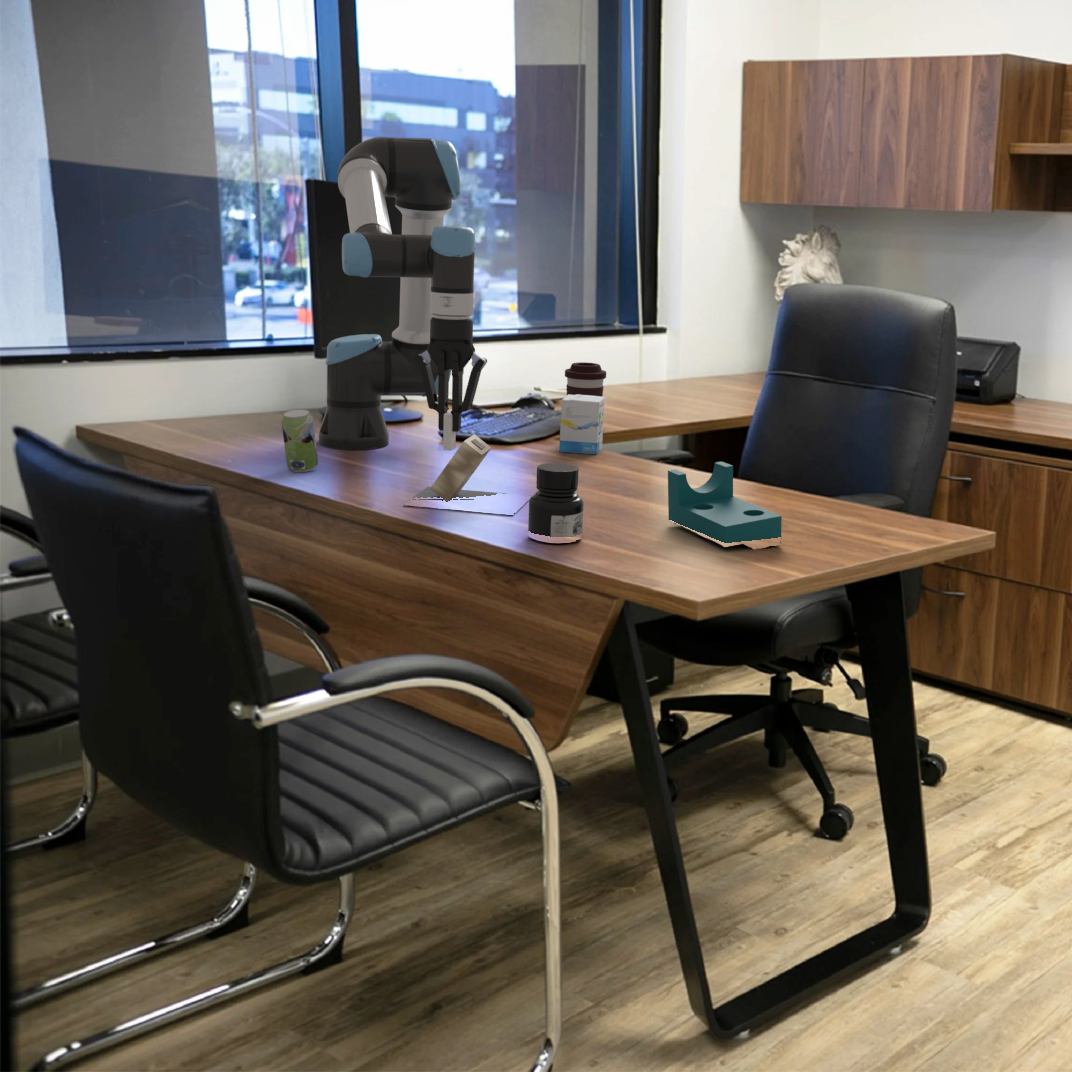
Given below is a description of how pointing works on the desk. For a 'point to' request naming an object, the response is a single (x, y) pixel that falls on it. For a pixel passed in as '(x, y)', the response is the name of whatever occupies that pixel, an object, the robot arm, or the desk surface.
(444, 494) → the birch block
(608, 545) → the desk surface
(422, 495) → the felt pad
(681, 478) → the teal l-shaped bracket
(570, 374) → the coffee cup
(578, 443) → the ink box
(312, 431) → the beverage can
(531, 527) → the ink bottle
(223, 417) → the desk surface
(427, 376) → the robot arm
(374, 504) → the desk surface
